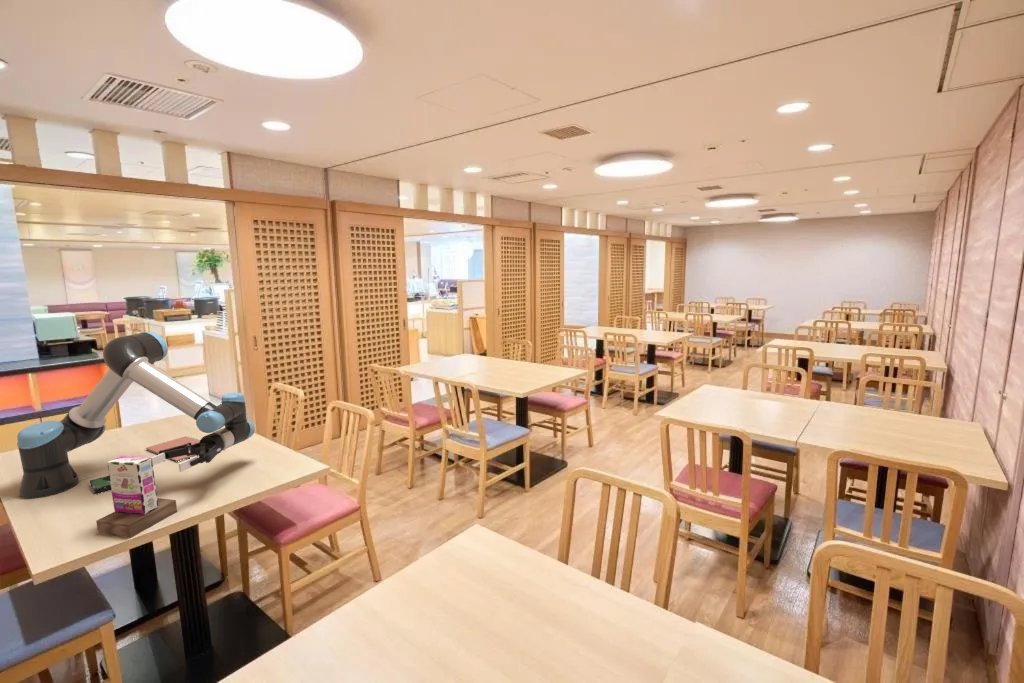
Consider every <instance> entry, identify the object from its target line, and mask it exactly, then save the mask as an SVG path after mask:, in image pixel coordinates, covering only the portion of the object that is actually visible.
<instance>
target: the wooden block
mask: <svg viewBox="0 0 1024 683" xmlns="http://www.w3.org/2000/svg"><path fill="white" fill-rule="evenodd" d="M157 500H158V508H156V509H155V510H153V511H151V512H149V513H147V514H145V515H143V514H129V513H117V512H115V511H113V512H111V513H110V514H109V513H108V514H107V515H105V516H103V517H101V518H99V519H97V520H95V522H96V526H97V528H96V529H97V533H98V534H100V535H101V534H102V535H107V534H108V535H109V536H115V537H122V538H123V537H124V538H133V537H134V536H135V537H136V535H139V534H140V533H142V532H144V531H146V530H147V529H149V528H152V526H154V525H156V524H158V523H160V522H162V521H163V520H165V519H167V518H169V517H170V516H173V514H176V513H177V512H178V507H177V500H176V499H171V498H163V497H162V498H161V497H157Z"/></svg>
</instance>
